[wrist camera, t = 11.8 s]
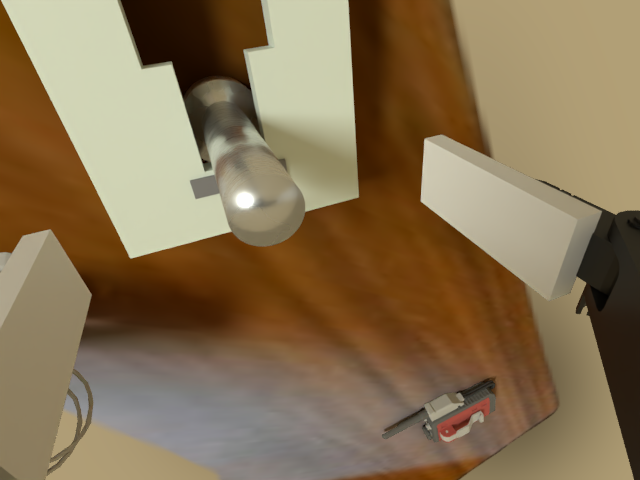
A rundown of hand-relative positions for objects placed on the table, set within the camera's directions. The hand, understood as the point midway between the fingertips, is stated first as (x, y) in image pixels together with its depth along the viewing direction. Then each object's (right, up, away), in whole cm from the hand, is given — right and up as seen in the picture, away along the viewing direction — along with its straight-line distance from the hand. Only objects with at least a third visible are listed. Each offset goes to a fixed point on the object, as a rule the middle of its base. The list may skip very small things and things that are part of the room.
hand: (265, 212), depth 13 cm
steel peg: (-5, +8, +13) cm, 16 cm away
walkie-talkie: (+21, -29, +47) cm, 59 cm away
